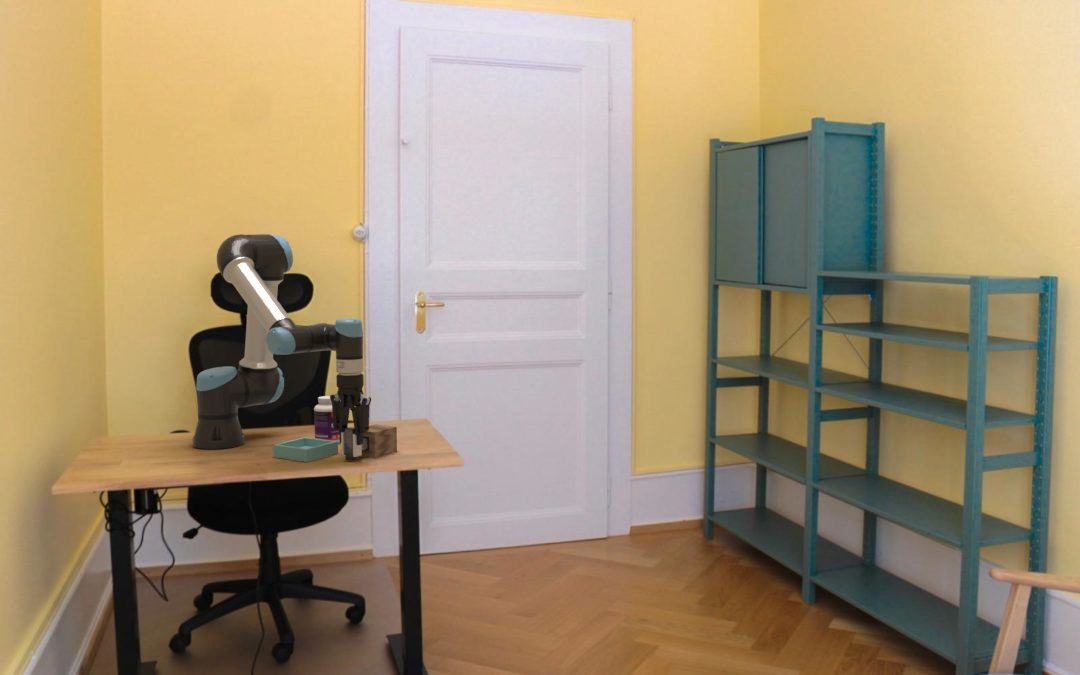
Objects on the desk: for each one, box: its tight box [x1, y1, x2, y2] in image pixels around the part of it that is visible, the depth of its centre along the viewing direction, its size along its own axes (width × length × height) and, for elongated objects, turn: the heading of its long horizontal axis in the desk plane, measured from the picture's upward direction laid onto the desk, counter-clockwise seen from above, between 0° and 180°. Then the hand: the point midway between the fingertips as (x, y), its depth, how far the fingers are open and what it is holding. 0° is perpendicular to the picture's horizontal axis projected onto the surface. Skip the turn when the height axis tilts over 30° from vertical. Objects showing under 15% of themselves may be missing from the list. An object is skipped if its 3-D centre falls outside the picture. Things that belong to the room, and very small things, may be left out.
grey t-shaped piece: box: [344, 426, 369, 462], centre depth 278 cm, size 17×4×9 cm, turn 150°
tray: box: [272, 436, 339, 463], centre depth 279 cm, size 13×13×4 cm
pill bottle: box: [313, 395, 340, 444], centre depth 295 cm, size 8×8×14 cm
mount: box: [360, 423, 398, 459], centre depth 281 cm, size 10×8×8 cm
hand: (351, 454), depth 272 cm, fingers closed on grey t-shaped piece, 4 cm apart
